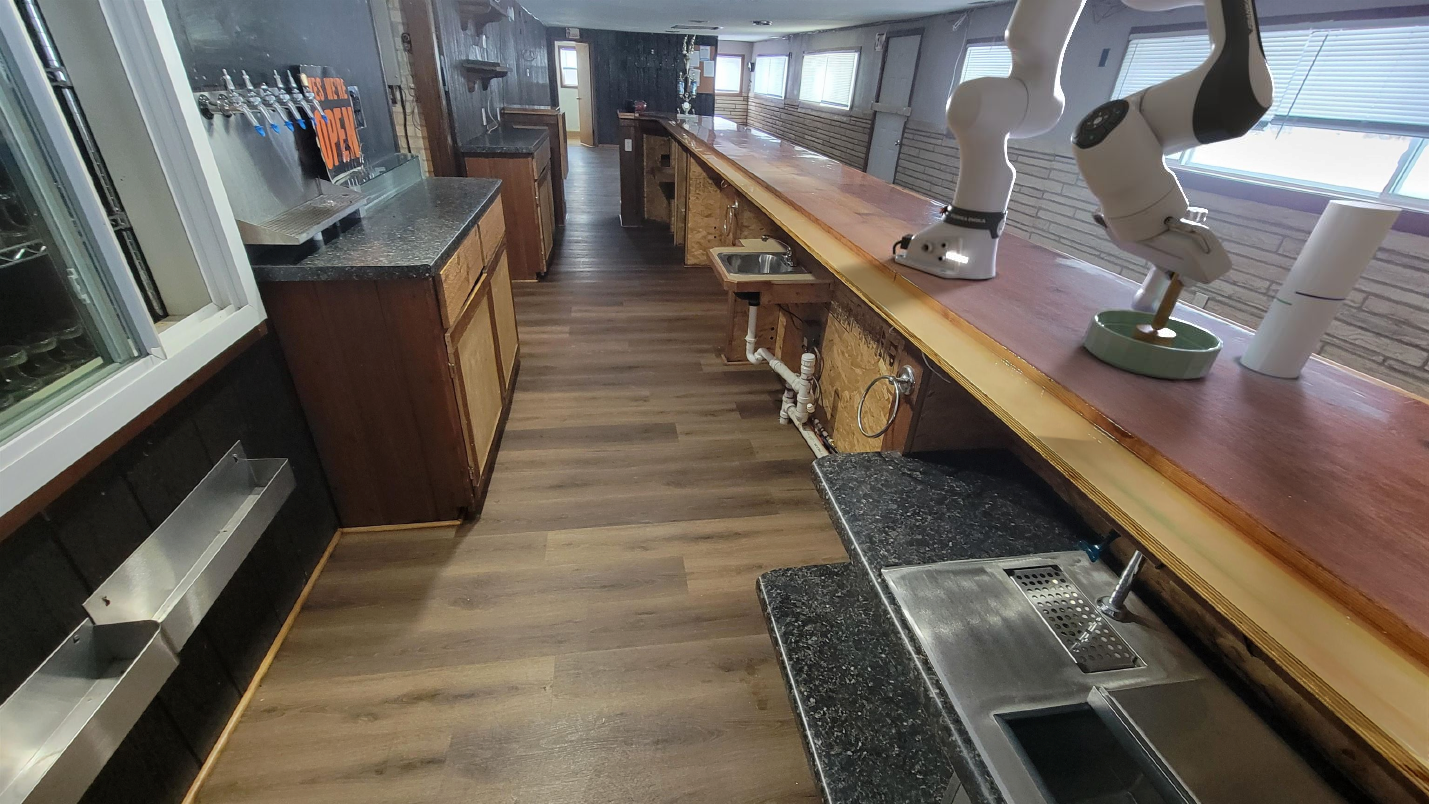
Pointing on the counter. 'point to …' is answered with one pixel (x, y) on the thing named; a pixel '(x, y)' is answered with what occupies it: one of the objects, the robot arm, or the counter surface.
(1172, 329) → the bowl
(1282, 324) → the cylindrical container
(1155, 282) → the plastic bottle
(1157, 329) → the brown stick
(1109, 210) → the robot arm
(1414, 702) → the counter surface
